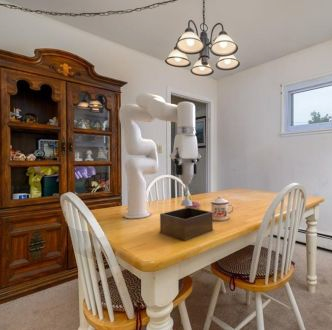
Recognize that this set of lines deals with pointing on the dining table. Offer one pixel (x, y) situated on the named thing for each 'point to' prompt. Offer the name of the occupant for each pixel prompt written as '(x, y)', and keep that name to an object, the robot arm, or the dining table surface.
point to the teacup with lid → (220, 209)
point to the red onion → (194, 205)
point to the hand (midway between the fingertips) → (186, 174)
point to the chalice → (187, 180)
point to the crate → (186, 223)
